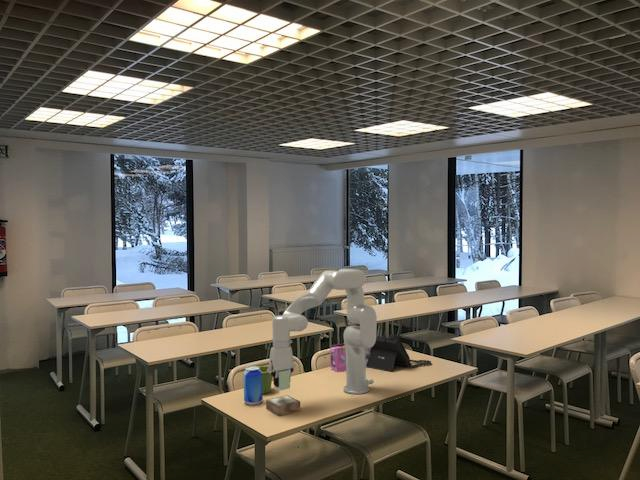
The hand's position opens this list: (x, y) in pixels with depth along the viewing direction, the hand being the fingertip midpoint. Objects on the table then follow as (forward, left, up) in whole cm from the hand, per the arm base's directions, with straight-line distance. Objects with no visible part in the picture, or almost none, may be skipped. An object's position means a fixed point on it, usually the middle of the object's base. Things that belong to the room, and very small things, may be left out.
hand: (282, 384), depth 226 cm
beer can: (+6, -17, -11) cm, 21 cm away
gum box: (-65, -35, -12) cm, 75 cm away
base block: (0, 0, -11) cm, 11 cm away
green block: (0, 0, -1) cm, 1 cm away
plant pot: (-5, -28, -11) cm, 31 cm away
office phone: (-90, -21, -11) cm, 93 cm away
